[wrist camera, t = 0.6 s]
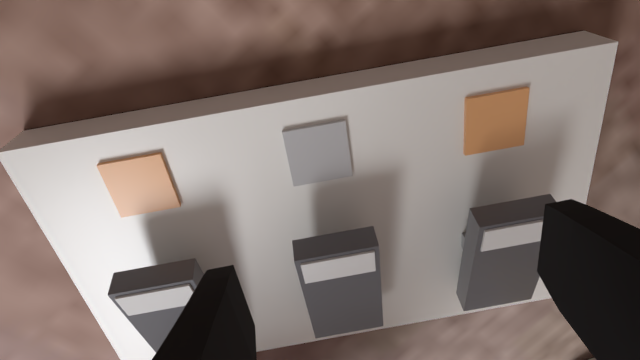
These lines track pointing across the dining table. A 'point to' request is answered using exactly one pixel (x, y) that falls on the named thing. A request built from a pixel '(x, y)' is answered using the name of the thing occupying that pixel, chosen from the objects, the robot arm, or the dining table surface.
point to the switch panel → (318, 177)
